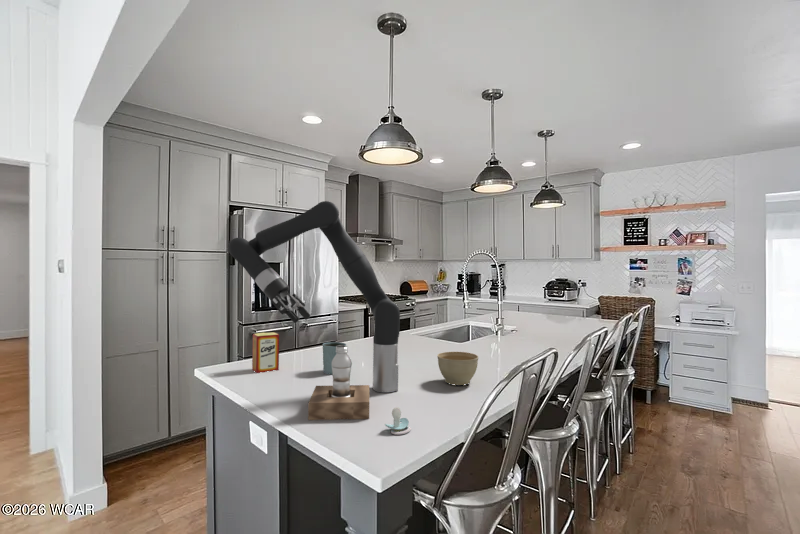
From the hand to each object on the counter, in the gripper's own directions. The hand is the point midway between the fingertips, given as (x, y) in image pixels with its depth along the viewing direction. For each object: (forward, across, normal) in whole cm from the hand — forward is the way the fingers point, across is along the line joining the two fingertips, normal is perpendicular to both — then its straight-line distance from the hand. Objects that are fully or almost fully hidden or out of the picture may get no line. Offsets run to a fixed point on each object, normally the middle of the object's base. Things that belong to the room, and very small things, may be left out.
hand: (303, 319), depth 131 cm
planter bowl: (+55, +34, -16) cm, 67 cm away
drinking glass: (+18, +38, +22) cm, 48 cm away
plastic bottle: (+30, -3, +9) cm, 32 cm away
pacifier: (+45, -16, -6) cm, 48 cm away
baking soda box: (-4, +34, +43) cm, 55 cm away
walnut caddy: (+30, -3, +9) cm, 31 cm away
